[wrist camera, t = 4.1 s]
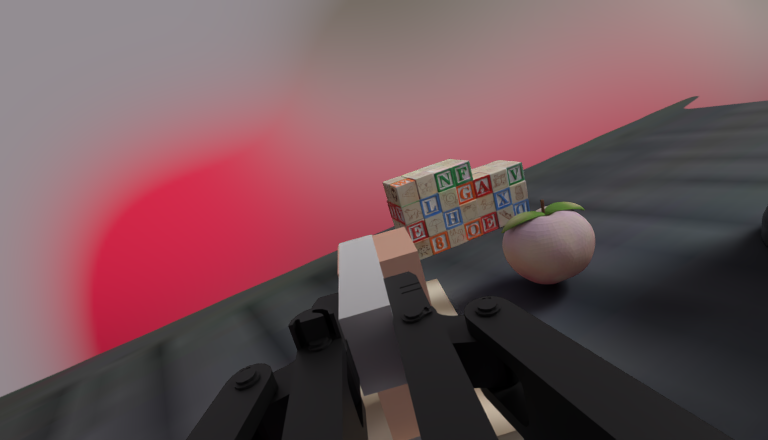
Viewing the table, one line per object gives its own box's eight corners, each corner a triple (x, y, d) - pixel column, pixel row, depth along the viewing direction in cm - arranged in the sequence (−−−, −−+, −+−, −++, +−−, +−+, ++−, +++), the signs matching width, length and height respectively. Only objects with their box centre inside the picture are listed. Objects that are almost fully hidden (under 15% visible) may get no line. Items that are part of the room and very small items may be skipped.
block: (463, 427, 27) (417, 250, 23) (395, 448, 27) (337, 274, 23) (444, 379, 32) (404, 226, 28) (387, 397, 32) (337, 245, 28)
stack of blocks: (508, 209, 68) (496, 142, 65) (531, 216, 63) (520, 142, 59) (400, 251, 63) (381, 180, 60) (415, 263, 58) (394, 185, 54)
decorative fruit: (547, 317, 38) (533, 224, 35) (498, 286, 45) (483, 207, 42) (621, 282, 40) (613, 191, 37) (563, 258, 47) (552, 181, 44)
